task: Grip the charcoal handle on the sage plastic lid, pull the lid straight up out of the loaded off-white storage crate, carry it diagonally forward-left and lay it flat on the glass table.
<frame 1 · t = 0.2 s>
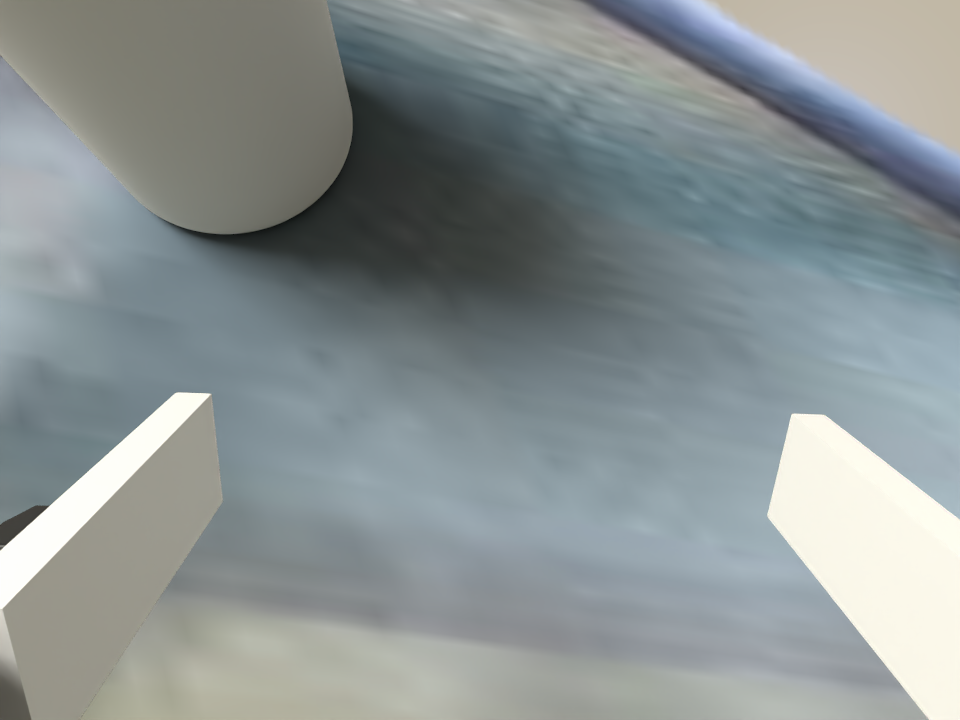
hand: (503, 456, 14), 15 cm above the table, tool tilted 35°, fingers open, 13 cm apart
cylinder vase: (240, 137, 34), on the table
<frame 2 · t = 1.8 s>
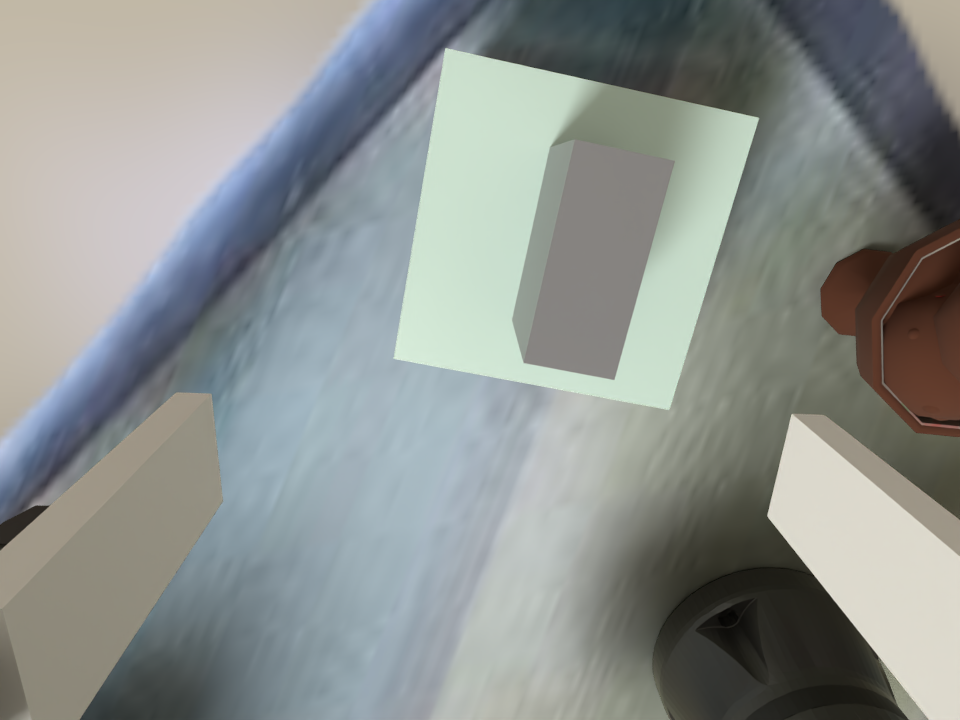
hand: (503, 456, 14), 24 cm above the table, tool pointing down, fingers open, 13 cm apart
lid: (563, 241, 30), point 7 cm above the table, touching crate
ice cream bowl: (862, 293, 38), on the table
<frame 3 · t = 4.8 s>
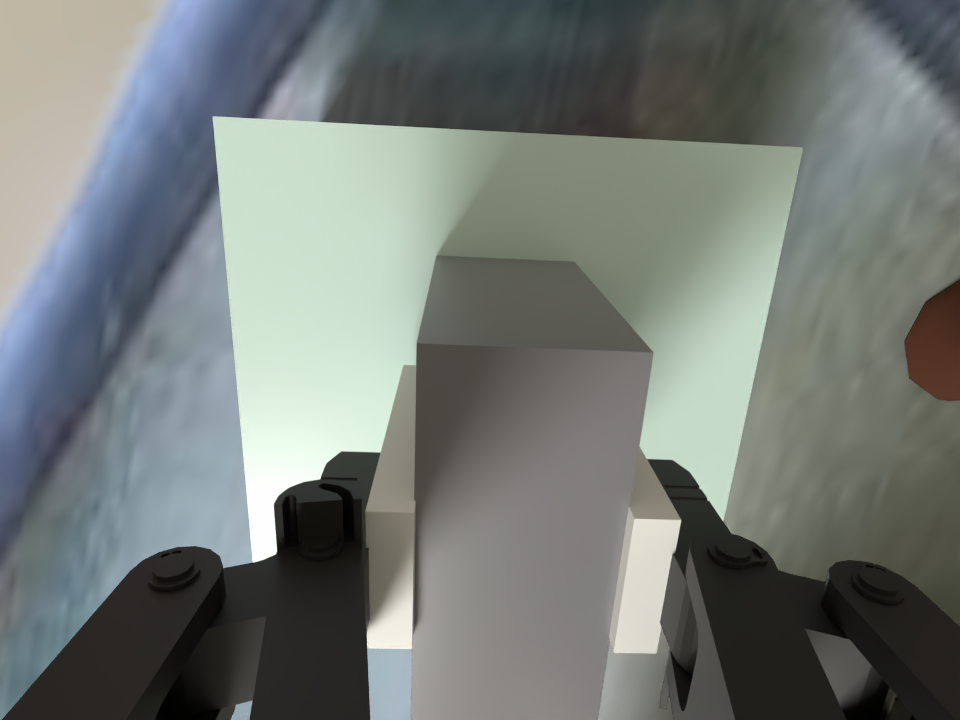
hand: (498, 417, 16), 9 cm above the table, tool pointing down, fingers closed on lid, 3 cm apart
lid: (494, 386, 18), point 7 cm above the table, touching crate, gripper
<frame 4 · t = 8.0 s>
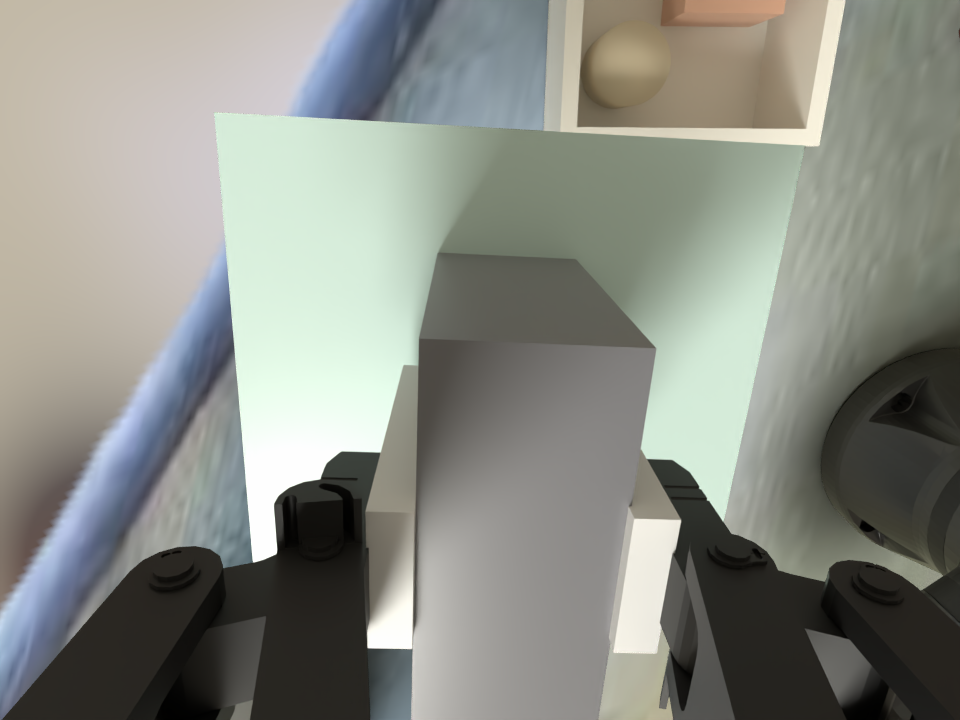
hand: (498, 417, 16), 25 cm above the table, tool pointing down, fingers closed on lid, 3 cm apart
crate: (662, 22, 35), on the table
lid: (495, 384, 18), point 23 cm above the table, touching gripper
when the fingers open (4 cm above the table, at t = 11.2 s): lid drops 2 cm, point 1 cm above the table.
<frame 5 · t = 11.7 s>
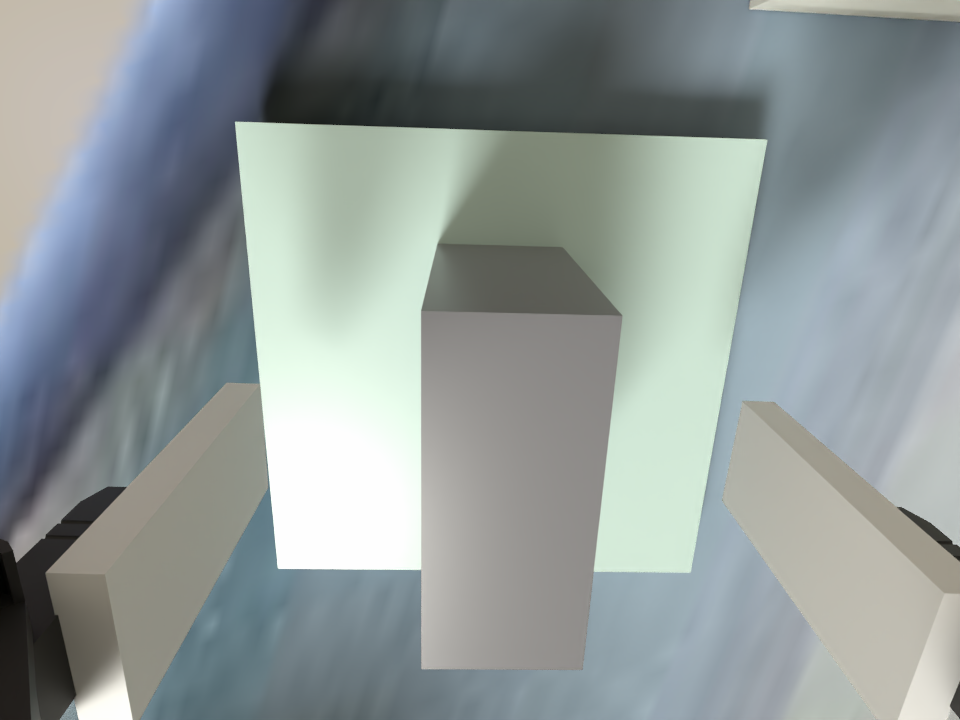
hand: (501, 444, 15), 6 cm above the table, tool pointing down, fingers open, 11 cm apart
lid: (492, 364, 20), point 1 cm above the table
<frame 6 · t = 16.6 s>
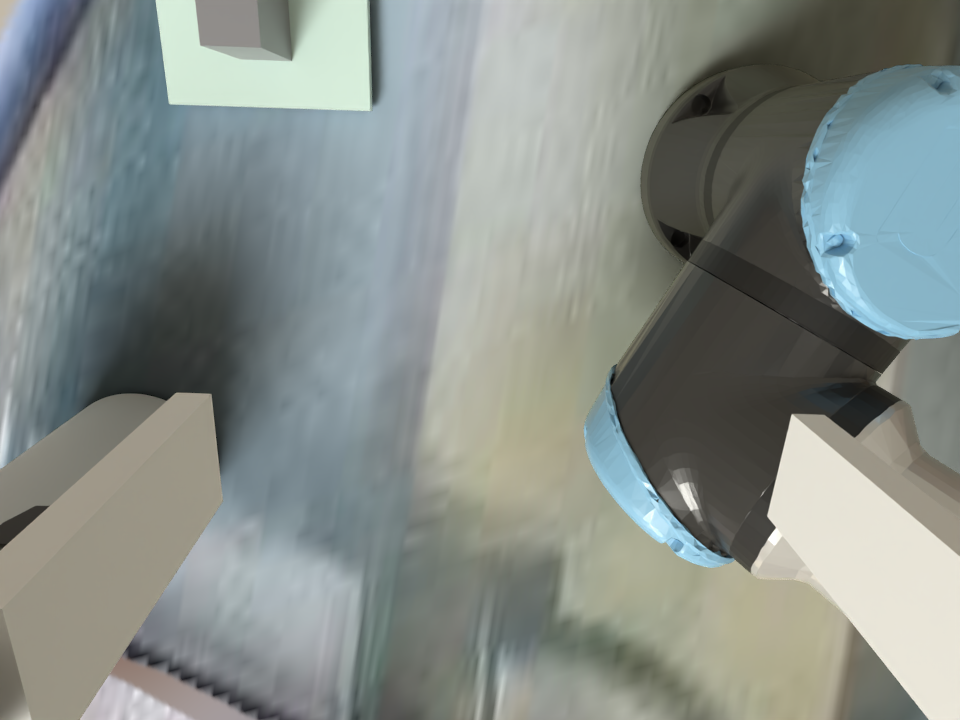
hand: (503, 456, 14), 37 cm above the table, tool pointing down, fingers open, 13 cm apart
cylinder vase: (147, 454, 55), on the table
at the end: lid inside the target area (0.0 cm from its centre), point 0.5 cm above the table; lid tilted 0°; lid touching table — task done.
